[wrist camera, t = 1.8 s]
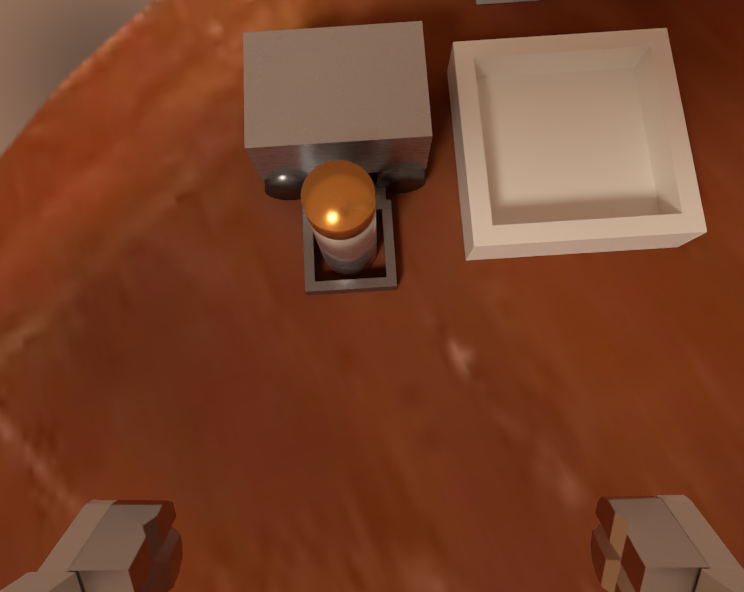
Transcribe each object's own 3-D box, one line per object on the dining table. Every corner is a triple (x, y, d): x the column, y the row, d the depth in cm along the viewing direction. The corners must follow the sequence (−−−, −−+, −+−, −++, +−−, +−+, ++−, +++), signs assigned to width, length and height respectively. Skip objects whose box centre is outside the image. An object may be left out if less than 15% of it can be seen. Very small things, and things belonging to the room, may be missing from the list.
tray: (643, 58, 35) (666, 27, 32) (677, 247, 33) (707, 231, 30) (447, 71, 35) (453, 41, 32) (465, 260, 33) (474, 246, 30)
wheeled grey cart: (414, 84, 35) (421, 14, 29) (431, 287, 32) (443, 259, 26) (268, 93, 35) (243, 26, 29) (272, 297, 33) (246, 272, 26)
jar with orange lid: (375, 221, 33) (373, 157, 25) (378, 274, 33) (377, 228, 24) (321, 225, 33) (299, 162, 25) (323, 277, 33) (301, 232, 24)
